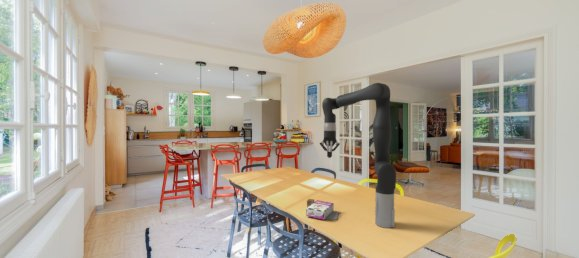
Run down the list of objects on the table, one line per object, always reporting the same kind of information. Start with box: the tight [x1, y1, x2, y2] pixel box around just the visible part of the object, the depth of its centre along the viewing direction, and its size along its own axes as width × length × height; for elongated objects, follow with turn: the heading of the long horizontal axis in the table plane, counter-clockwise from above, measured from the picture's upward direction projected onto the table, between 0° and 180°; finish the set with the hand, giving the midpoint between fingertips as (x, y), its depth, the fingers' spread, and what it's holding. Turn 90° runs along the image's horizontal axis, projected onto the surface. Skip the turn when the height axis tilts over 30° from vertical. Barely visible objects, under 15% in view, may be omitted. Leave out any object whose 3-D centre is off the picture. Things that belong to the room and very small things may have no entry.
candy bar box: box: [305, 200, 335, 220], centre depth 140 cm, size 11×5×16 cm
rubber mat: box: [307, 210, 340, 221], centre depth 140 cm, size 16×12×1 cm
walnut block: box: [306, 198, 315, 208], centre depth 156 cm, size 4×4×4 cm
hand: (329, 157), depth 149 cm, fingers closed
